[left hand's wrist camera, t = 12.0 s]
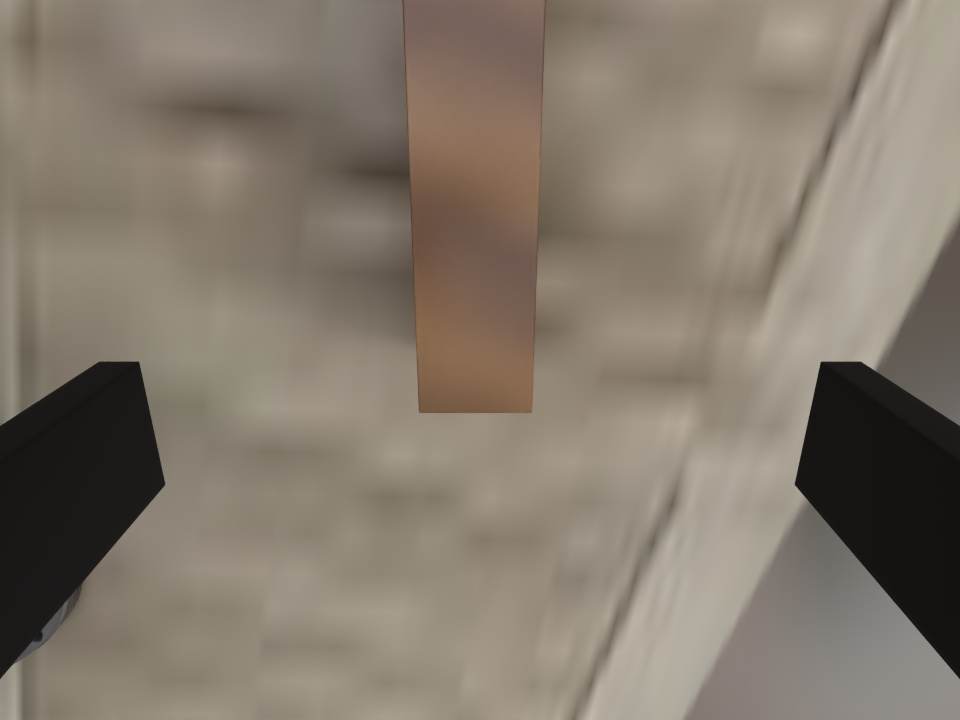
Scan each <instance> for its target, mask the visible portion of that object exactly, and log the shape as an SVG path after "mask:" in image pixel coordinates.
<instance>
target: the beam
mask: <svg viewBox="0 0 960 720" xmlns="http://www.w3.org/2000/svg"><path fill="white" fill-rule="evenodd" d="M545 4H546V0H403V22H404V47H405V72H406V98H407V123H408V148H409V173H410V198H411V223H412V248H413V273H414V298H415V323H416V348H417V374H418V399H419V412H420V413H531V412H532V395H533V365H534V335H535V305H536V275H537V245H538V215H539V185H540V154H541V124H542V94H543V64H544V34H545Z"/></svg>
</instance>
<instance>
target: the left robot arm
mask: <svg viewBox="0 0 960 720" xmlns="http://www.w3.org/2000/svg"><path fill="white" fill-rule="evenodd" d="M164 486H165V481H164V476H163V472H162V467H161V462H160V458H159V453H158V448H157V444H156V439H155V434H154V429H153V425H152V420H151V415H150V411H149V406H148V401H147V397H146V392H145V387H144V383H143V378H142V373H141V369H140V364H139V362H98V363H97V364H95V365H93V366H92V367H90V368H89V369H87V370H86V371H84V372H83V373H81V374H80V375H78V376H76V377H75V378H73V379H72V380H70V381H69V382H67V383H66V384H64V385H63V386H61V387H60V388H58V389H56V390H55V391H53V392H52V393H50V394H49V395H47V396H46V397H44V398H43V399H41V400H40V401H38V402H36V403H35V404H33V405H32V406H30V407H29V408H27V409H26V410H24V411H23V412H21V413H20V414H18V415H16V416H15V417H13V418H12V419H10V420H9V421H7V422H6V423H4V424H3V425H1V426H0V679H1V677H2V676H3V675H4V674H5V673H6V672H7V670H8V669H9V668H10V667H11V666H12V665H13V664H15V663H16V662H18V661H19V660H20V659H22V658H23V657H25V656H27V655H28V654H30V653H31V652H33V651H34V650H36V649H37V648H39V647H40V646H42V645H43V644H44V643H45V642H46V641H47V640H48V639H49V638H50V637H51V636H52V634H53V633H54V632H55V631H56V630H57V628H58V627H59V626H60V625H61V624H62V622H63V621H64V620H65V619H66V617H67V616H68V615H69V614H70V612H71V611H72V609H73V608H74V606H75V604H76V601H77V599H78V596H79V593H80V588H81V583H82V582H83V581H84V580H85V579H86V577H87V576H88V575H89V574H90V573H91V572H92V570H93V569H94V568H95V567H96V566H97V564H98V563H99V562H100V561H101V560H102V559H103V557H104V556H105V555H106V554H107V553H108V552H109V550H110V549H111V548H112V547H113V546H114V544H115V543H116V542H117V541H118V540H119V539H120V537H121V536H122V535H123V534H124V533H125V532H126V530H127V529H128V528H129V527H130V526H131V524H132V523H133V522H134V521H135V520H136V519H137V517H138V516H139V515H140V514H141V513H142V511H143V510H144V509H145V508H146V507H147V506H148V504H149V503H150V502H151V501H152V500H153V499H154V497H155V496H156V495H157V494H158V493H159V491H160V490H161V489H162V488H163V487H164ZM795 486H796V487H797V488H798V489H799V490H800V491H801V493H802V494H803V495H804V496H805V497H806V499H807V500H808V501H809V502H810V503H811V504H812V506H813V507H814V508H815V509H816V510H817V512H818V513H819V514H820V515H821V516H822V517H823V519H824V520H825V521H826V522H827V523H828V524H829V526H830V527H831V528H832V529H833V530H834V532H835V533H836V534H837V535H838V536H839V537H840V539H841V540H842V541H843V542H844V543H845V544H846V546H847V547H848V548H849V549H850V550H851V552H852V553H853V554H854V555H855V556H856V557H857V559H858V560H859V561H860V562H861V563H862V564H863V566H864V567H865V568H866V569H867V570H868V572H869V573H870V574H871V575H872V576H873V577H874V579H875V580H876V581H877V582H878V583H879V584H880V586H881V587H882V588H883V589H884V590H885V592H886V593H887V594H888V595H889V596H890V597H891V599H892V600H893V601H894V602H895V603H896V604H897V606H898V607H899V608H900V609H901V610H902V611H903V613H904V614H905V615H906V616H907V617H908V619H909V620H910V621H911V622H912V623H913V624H914V626H915V627H916V628H917V629H918V630H919V631H920V633H921V634H922V635H923V636H924V637H925V639H926V640H927V641H928V642H929V643H930V644H931V646H932V647H933V648H934V649H935V650H936V652H937V653H938V654H939V655H940V656H941V657H942V658H943V660H944V661H945V662H946V663H947V664H948V666H949V667H950V668H951V669H952V670H953V671H954V673H955V674H956V675H957V676H958V677H959V679H960V426H959V425H957V424H956V423H954V422H953V421H951V420H950V419H948V418H947V417H945V416H944V415H942V414H940V413H939V412H937V411H936V410H934V409H933V408H931V407H930V406H928V405H927V404H925V403H924V402H922V401H920V400H919V399H917V398H916V397H914V396H913V395H911V394H910V393H908V392H907V391H905V390H903V389H902V388H900V387H899V386H897V385H896V384H894V383H893V382H891V381H890V380H888V379H887V378H885V377H883V376H882V375H880V374H879V373H877V372H876V371H874V370H873V369H871V368H870V367H868V366H867V365H865V364H863V363H862V362H821V364H820V369H819V373H818V378H817V383H816V387H815V392H814V397H813V401H812V406H811V411H810V415H809V420H808V425H807V429H806V434H805V439H804V443H803V448H802V453H801V458H800V462H799V467H798V472H797V476H796V481H795Z"/></svg>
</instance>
